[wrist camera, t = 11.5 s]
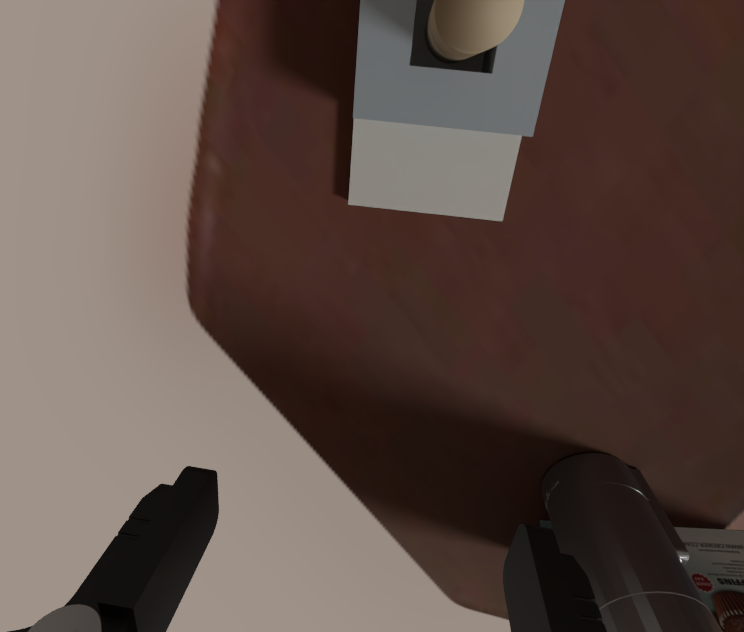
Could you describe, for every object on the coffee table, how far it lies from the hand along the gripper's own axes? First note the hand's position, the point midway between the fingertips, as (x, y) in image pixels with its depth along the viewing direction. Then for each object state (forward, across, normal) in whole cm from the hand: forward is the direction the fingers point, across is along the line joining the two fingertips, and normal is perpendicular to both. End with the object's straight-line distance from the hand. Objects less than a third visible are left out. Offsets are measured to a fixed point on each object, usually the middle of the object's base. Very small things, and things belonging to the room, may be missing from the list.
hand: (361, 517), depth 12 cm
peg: (+26, -1, -14) cm, 30 cm away
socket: (+28, -1, -11) cm, 30 cm away
